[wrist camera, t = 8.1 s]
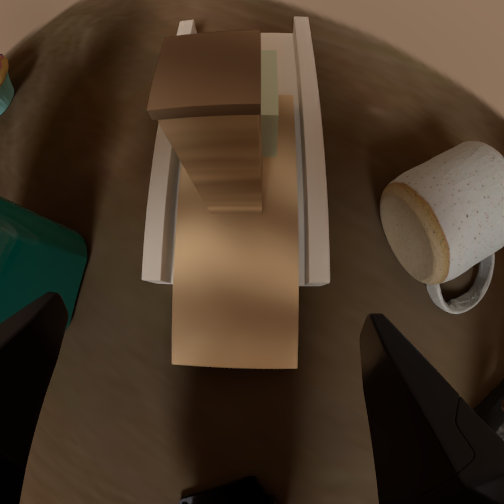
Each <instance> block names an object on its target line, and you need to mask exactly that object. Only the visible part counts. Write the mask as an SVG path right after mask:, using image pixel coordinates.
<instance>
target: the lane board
mask: <svg viewBox="0 0 504 504" xmlns="http://www.w3.org/2000/svg"><path fill="white" fill-rule="evenodd" d="M195 33H197V31H196V27H195V23H194V20H187V21H180V24H179V28H178V32H177V35H186V34H195ZM261 50H276V51H277V76H278V95H293V101H294V119H295V139H296V162H297V193H298V243H299V286H323V285H325V284H328V283H330V254H329V222H328V201H327V183H326V168H325V155H324V142H323V131H322V120H321V110H320V101H319V92H318V84H317V75H316V68H315V60H314V53H313V46H312V39H311V33H310V26H309V20H308V17H297V16H294V23H293V33H261ZM180 172H181V161H180V160H179V158H178V156H177V154H176V153H175V151H174V149H173V147H172V146H171V144H170V142H169V140H168V139H167V137H166V135H165V133H164V132H163V130H162V128H161V126H160V124H159V123H158V129H157V135H156V141H155V148H154V155H153V162H152V170H151V178H150V186H149V195H148V204H147V214H146V225H145V237H144V250H143V266H142V280H145V281H149V282H153V283H157V284H173V272H174V251H175V234H176V220H177V206H178V194H179V183H180Z"/></svg>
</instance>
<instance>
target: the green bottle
mask: <svg viewBox="0 0 504 504" xmlns="http://www.w3.org/2000/svg"><path fill="white" fill-rule="evenodd" d="M86 263H87V247H86V244H85V242H84V239H83V237H82V236H81V235H80V234H79V233H78V232H77V231H75V230H73V229H70V228H68V227H66V226H64V225H61V224H59V223H57V222H55V221H52V220H50V219H48V218H46V217H44V216H42V215H39V214H37V213H35V212H33V211H31V210H29V209H26V208H24V207H22V206H20V205H18V204H16V203H14V202H12V201H10V200H7V199H5V198H3V197H1V196H0V323H2V322H3V321H5V320H6V319H8V318H9V317H11V316H12V315H13V314H15V313H16V312H18V311H19V310H21V309H22V308H24V307H25V306H27V305H28V304H30V303H31V302H33V301H34V300H36V299H37V298H39V297H41V296H42V295H44V294H45V293H47V292H56V293H59V294H60V295H61V296H62V299H63V301H64V303H65V306H66V308H67V310H68V314H69V319H68V323H67V326H66V329H67V327H68V326H69V324H70V322H71V318H72V314H73V310H74V306H75V302H76V298H77V294H78V291H79V287H80V283H81V280H82V276H83V273H84V269H85V266H86Z"/></svg>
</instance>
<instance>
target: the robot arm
mask: <svg viewBox="0 0 504 504" xmlns="http://www.w3.org/2000/svg"><path fill="white" fill-rule="evenodd" d="M68 319H69V314H68V310H67V308H66V306H65V303H64V301H63V299H62V296H61V295H60V294H59V293H56V292H47V293H45V294H44V295H42V296H41V297H39V298H37V299H36V300H34V301H33V302H31V303H30V304H28V305H27V306H25V307H24V308H22V309H21V310H19V311H18V312H16V313H15V314H13V315H12V316H11V317H9V318H8V319H6V320H5V321H3V322H2V323H0V504H19V503H20V497H21V491H22V485H23V480H24V475H25V470H26V469H25V468H26V465H27V461H28V456H29V452H30V448H31V444H32V440H33V436H34V432H35V429H36V425H37V421H38V418H39V414H40V411H41V408H42V404H43V401H44V398H45V395H46V392H47V389H48V386H49V383H50V380H51V377H52V374H53V371H54V368H55V365H56V362H57V359H58V355H59V352H60V348H61V344H62V340H63V337H64V333H65V330H66V326H67V323H68ZM360 351H361V364H362V380H363V391H364V397H365V403H366V409H367V415H368V421H369V428H370V434H371V441H372V448H373V455H374V463H375V471H376V479H377V488H378V498H379V504H504V440H503V439H502V438H501V437H500V436H499V435H498V434H496V433H495V432H494V431H493V430H492V429H491V428H490V427H489V426H488V425H487V424H486V423H485V422H484V421H483V420H482V419H481V418H480V417H479V416H478V415H477V414H476V413H475V412H474V411H473V409H472V408H471V407H470V406H469V405H468V404H467V403H466V402H465V401H464V400H463V398H462V397H459V394H458V393H457V392H456V391H455V390H454V389H453V388H452V386H451V385H450V384H449V383H448V382H447V381H446V380H445V379H444V378H443V377H442V375H441V374H440V373H439V372H438V371H437V370H436V369H435V368H434V367H433V366H432V365H431V364H430V363H429V361H428V360H427V359H426V358H425V357H424V356H423V355H422V354H421V353H420V352H419V351H418V350H417V349H416V348H415V347H414V346H413V345H412V344H411V342H410V341H409V340H408V339H407V338H406V337H405V336H404V335H403V334H402V333H401V332H400V331H399V330H398V329H397V328H396V327H395V326H394V325H393V324H392V323H391V322H390V321H389V320H388V319H387V318H386V317H385V316H384V315H383V314H368V315H367V317H366V320H365V323H364V325H363V328H362V331H361V334H360ZM249 481H253V482H254V483H253V484H250V483H248V482H249ZM184 501H185V502H188V504H279V502H278V501H277V499H276V498H275V497H274V495H271V494H269V495H268V493H267V492H266V490H265V489H264V487H263V486H262V485H261V483H260V482H259V480H258V479H257V478H256V477H254V476H248V477H245V478H242V479H240V480H237V481H234V482H231V483H228V484H225V485H222V486H219V487H215V488H212V489H209V490H206V491H202V492H199V493H195V494H191V495H188V496H184V497H182V498H181V499H180V501H179V504H186V503H184Z"/></svg>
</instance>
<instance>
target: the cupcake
mask: <svg viewBox="0 0 504 504" xmlns="http://www.w3.org/2000/svg"><path fill="white" fill-rule="evenodd" d="M8 68H9V66H8V59H7V58H5V57H4V56H3V55H2V54H0V115H1V114H2V113H3V112H4V111H5V110H6V109H7V107H8V106H9V104H10V103H11V101H12V99H13V96H14V88H13V86H12V84H11V81H10V78H9V75H8Z"/></svg>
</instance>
